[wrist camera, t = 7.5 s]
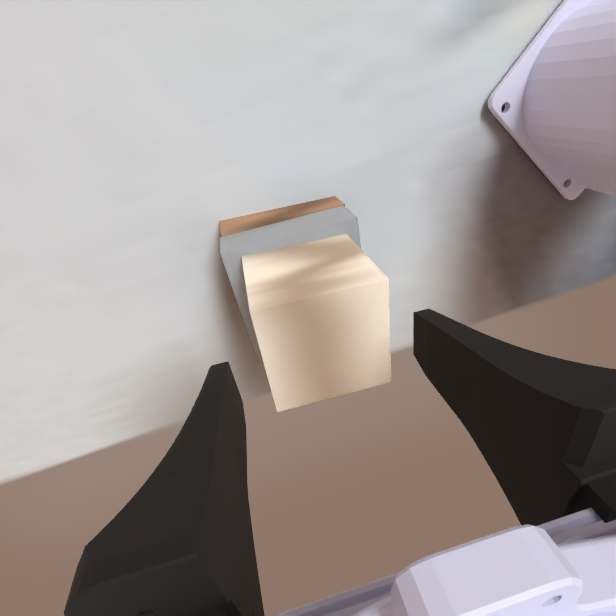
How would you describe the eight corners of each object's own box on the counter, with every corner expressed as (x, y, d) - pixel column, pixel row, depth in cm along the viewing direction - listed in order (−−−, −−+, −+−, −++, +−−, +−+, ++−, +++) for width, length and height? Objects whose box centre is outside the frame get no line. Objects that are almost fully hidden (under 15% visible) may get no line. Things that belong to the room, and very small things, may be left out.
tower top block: (343, 205, 19) (357, 217, 17) (357, 309, 22) (370, 328, 20) (219, 237, 18) (220, 253, 16) (254, 339, 21) (257, 361, 20)
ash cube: (345, 233, 17) (388, 278, 13) (353, 320, 20) (391, 381, 15) (241, 256, 16) (249, 311, 12) (263, 342, 19) (277, 412, 15)
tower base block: (333, 194, 20) (344, 204, 19) (344, 293, 24) (354, 309, 22) (219, 219, 20) (219, 231, 18) (247, 317, 23) (250, 336, 21)
